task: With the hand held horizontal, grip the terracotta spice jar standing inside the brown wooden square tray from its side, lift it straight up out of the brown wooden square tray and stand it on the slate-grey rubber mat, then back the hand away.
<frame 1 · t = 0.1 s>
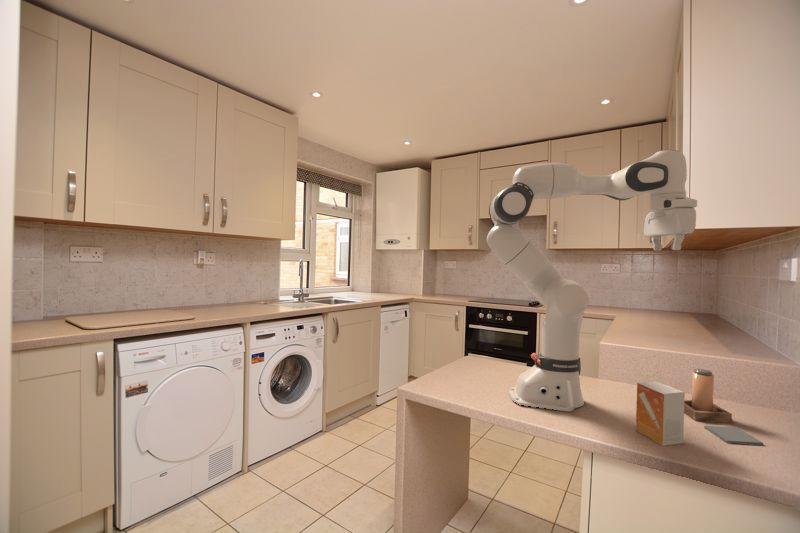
hand: (666, 250, 112), 48 cm above the countertop, tool pointing down, fingers open, 8 cm apart
mat: (732, 436, 94), on the countertop
small box: (658, 437, 94), on the countertop
jar: (702, 392, 107), in the brown wooden square tray
brown wooden square tray: (701, 414, 107), on the countertop
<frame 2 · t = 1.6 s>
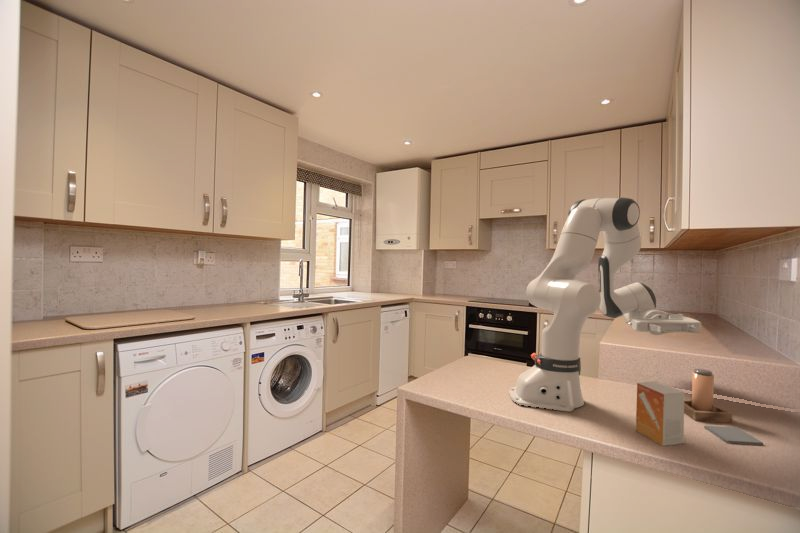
hand: (678, 330, 118), 22 cm above the countertop, tool horizontal, fingers open, 8 cm apart
nothing on the countertop moved.
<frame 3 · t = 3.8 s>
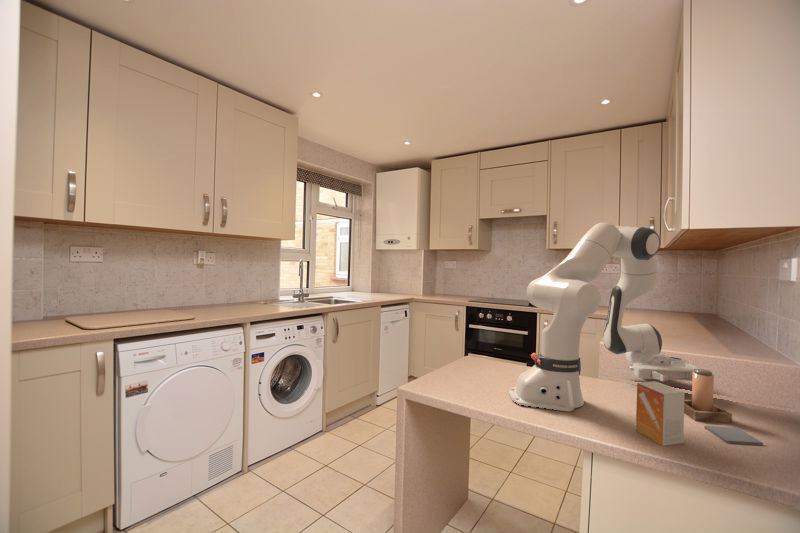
hand: (681, 379, 116), 7 cm above the countertop, tool horizontal, fingers open, 8 cm apart
nothing on the countertop moved.
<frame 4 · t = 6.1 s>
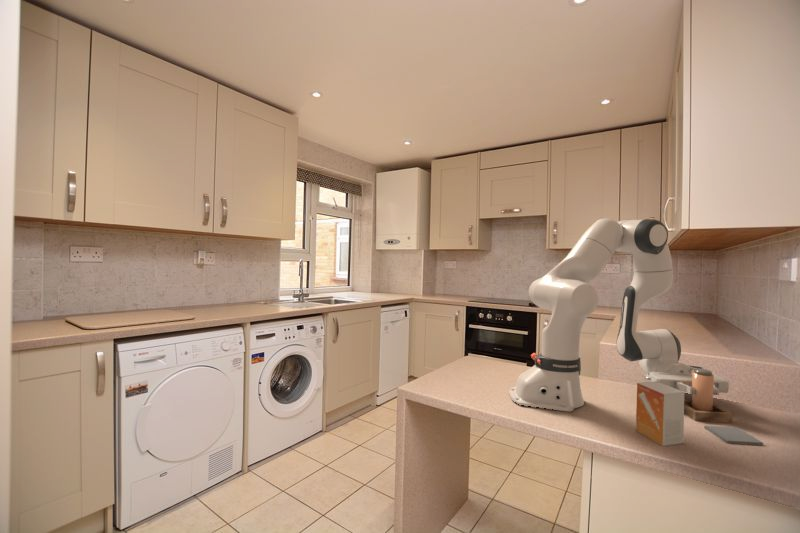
hand: (704, 391, 106), 7 cm above the countertop, tool horizontal, fingers closed on jar, 5 cm apart
jar: (702, 392, 107), in the brown wooden square tray, touching gripper
everything else where it was.
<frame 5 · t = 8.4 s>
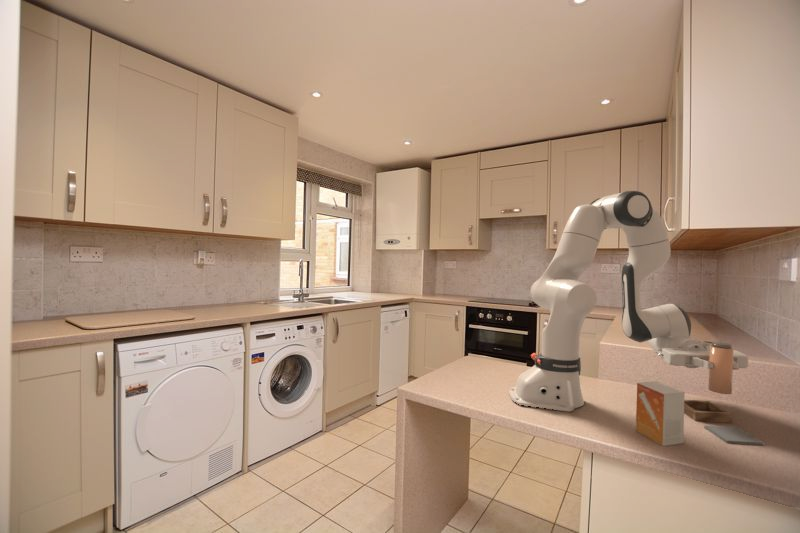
hand: (723, 366, 98), 17 cm above the countertop, tool horizontal, fingers closed on jar, 5 cm apart
jar: (720, 367, 99), point 16 cm above the countertop, touching gripper
everything else where it was.
when the fingers open (9 cm above the countertop, at t = 10.7 s): jar drops 1 cm, resting on mat.
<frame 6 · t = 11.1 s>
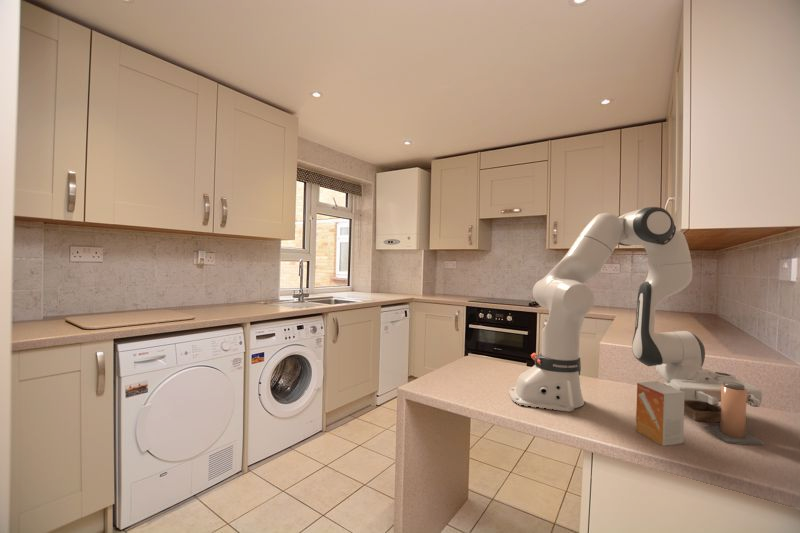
hand: (736, 402, 93), 9 cm above the countertop, tool horizontal, fingers open, 8 cm apart
jar: (733, 408, 94), on the mat, point 7 cm above the countertop
everything else where it was.
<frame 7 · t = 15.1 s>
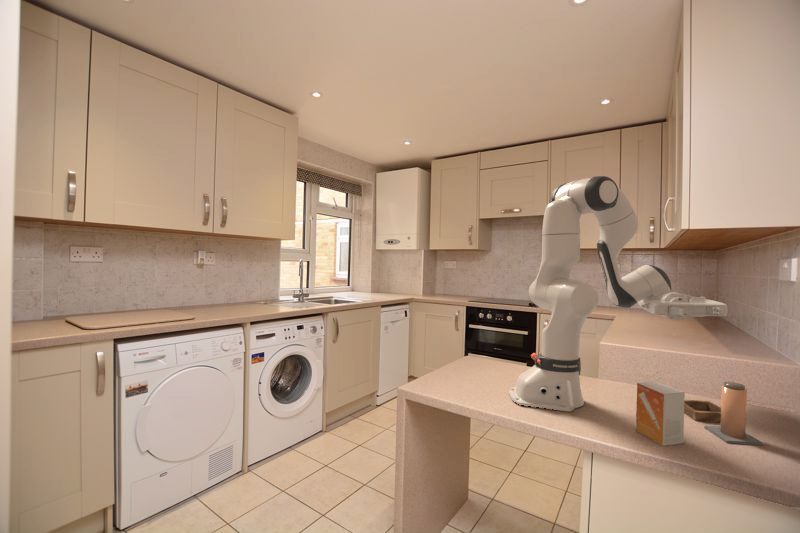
hand: (702, 312, 105), 30 cm above the countertop, tool horizontal, fingers open, 8 cm apart
nothing on the countertop moved.
at the end: jar inside the target area on the mat (0.1 cm from its centre), point 7.0 cm above the mat's base; jar tilted 0°; the gripper is holding nothing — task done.
